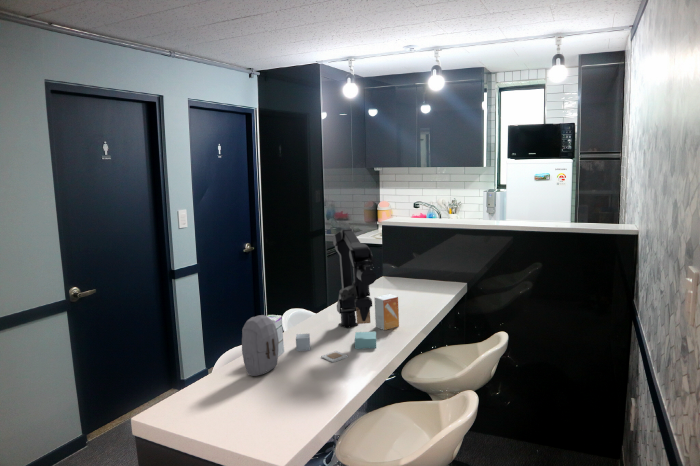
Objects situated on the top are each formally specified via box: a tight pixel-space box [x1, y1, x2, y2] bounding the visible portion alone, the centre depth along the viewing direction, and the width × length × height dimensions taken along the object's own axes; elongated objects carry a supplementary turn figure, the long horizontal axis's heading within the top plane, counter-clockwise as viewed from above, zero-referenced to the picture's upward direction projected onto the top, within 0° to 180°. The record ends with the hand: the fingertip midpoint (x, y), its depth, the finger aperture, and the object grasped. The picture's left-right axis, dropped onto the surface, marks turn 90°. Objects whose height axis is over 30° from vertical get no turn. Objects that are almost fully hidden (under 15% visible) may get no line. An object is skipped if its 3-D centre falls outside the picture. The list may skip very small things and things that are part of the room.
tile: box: [321, 350, 349, 363], centre depth 186 cm, size 7×7×1 cm
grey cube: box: [295, 332, 311, 352], centre depth 196 cm, size 5×5×5 cm
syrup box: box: [266, 314, 285, 358], centre depth 191 cm, size 6×6×14 cm
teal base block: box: [354, 331, 377, 350], centre depth 196 cm, size 8×8×4 cm
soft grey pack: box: [241, 314, 279, 377], centre depth 174 cm, size 15×8×20 cm, turn 150°
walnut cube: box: [355, 308, 371, 325], centre depth 195 cm, size 5×5×5 cm
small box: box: [374, 293, 400, 331], centre depth 215 cm, size 8×6×13 cm
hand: (363, 318), depth 195 cm, fingers closed on walnut cube, 5 cm apart
